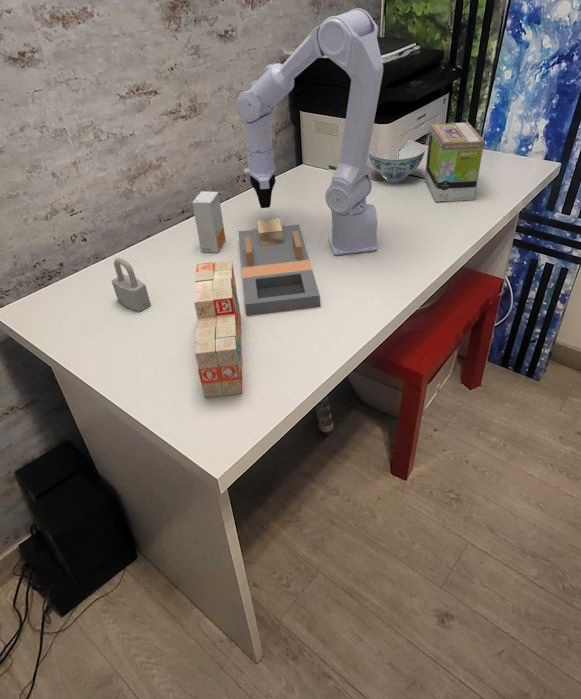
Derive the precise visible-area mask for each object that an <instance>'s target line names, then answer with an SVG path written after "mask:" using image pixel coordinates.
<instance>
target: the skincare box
mask: <svg viewBox="0 0 581 699" xmlns="http://www.w3.org/2000/svg"><path fill="white" fill-rule="evenodd" d="M219 194H220V193H219V191H205V190H204V191H200V192H199V193H198V194H197V195H196V197H195V198H194V199H193V201H192V210H193V214H194V220H195V224H196V225H195V226H196V229H197V230H196V231H197V235H198V241H199V248H200V251H201V252H202V253H219V252H220V250H221V249H222V247H223V245H224V243H225V242H226V240H227V239H226V233H225V227H224V221H223V214H222V212H223V211H222V207H221V201H220V200H221V199H220V195H219Z"/></svg>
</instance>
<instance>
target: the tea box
mask: <svg viewBox="0 0 581 699" xmlns="http://www.w3.org/2000/svg"><path fill="white" fill-rule="evenodd" d="M484 146H485V140H484V138H482V136H481V135H480V133H478V132H477V130H476V129H475V128H474V127H473V126H472V125H471V123H470V122H451V123H436V124H433V123H432V124H430V129H429V136H428V147H427V154H426V155H427V156H426V165H425V172H424V173H425V174H424V175H425V176H424V180H426V181H425V182H427V183H426V184H427V187H428V189H429V191H430V193H431V196H432V197H433V200H434V201H435V203H438V202H439V203H441V202H440V201H449V202H458V201H457V200H468V201H474V200H475V198H476V197H475V196H476V192H477V191H476V190H477V186H478V180H479V175H480V174H479V173H480V169H481V168H480V167H481V163H482V157H483V152H484Z"/></svg>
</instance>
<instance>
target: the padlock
mask: <svg viewBox="0 0 581 699" xmlns="http://www.w3.org/2000/svg"><path fill="white" fill-rule="evenodd" d="M113 266H114V269H115V273H116V276H117V277H116V278H113V279H112V280H111V284H112V287H113V289H114V292H115V295H116V298H117V301H118V302H119V303H120V304H122V305H123V306H124V307H125V308H127V309H130V310H133V311H136V312H140V313H141V312H142V311H144V310H145V309H147V308H148V307H150V306H151V303H152V302H151V300H150V297H149V294H148V290H147V286H146V284H145V283H143V282H142V281H141V280H140V279H138V278H137V277H136V274H135V272H134V269H133V267H132V265H131V264H130V263H129V262H128V261H127V260H126V259H124V258H120V257H118V258H117V257H116V258H115V259H114V262H113ZM121 266H122V267H124V269H125V270H126V272H127V274H128V275H127V274H124V273H123V271H122V267H121Z"/></svg>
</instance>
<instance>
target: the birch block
mask: <svg viewBox="0 0 581 699" xmlns="http://www.w3.org/2000/svg"><path fill="white" fill-rule="evenodd" d="M256 222H257V229H258V232H259V239H260V245H270V244H278V243H283V234H282V227H281V226H282V224H281V220H280V217H279V218H270V219H261V220H257V221H256Z"/></svg>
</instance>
